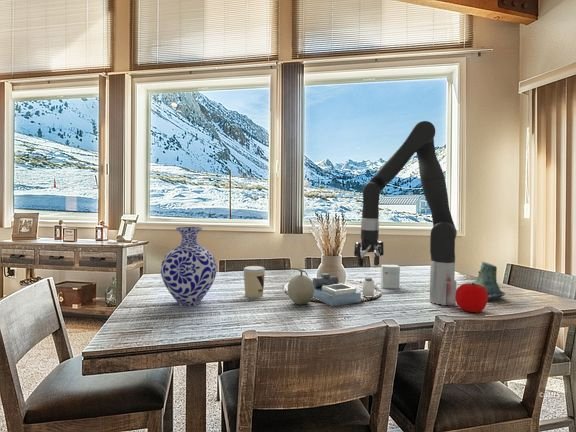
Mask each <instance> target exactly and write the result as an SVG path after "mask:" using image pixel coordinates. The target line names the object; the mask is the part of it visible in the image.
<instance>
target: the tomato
mask: <svg viewBox="0 0 576 432" xmlns="http://www.w3.org/2000/svg"><path fill="white" fill-rule="evenodd" d="M455 300H456V305H457V306H458V307H459V308H460V309H462V310H464V311H466V312H468V313H473V312H476V313H482V312H483V310H484V309H486V306H487V303H488V293H487V291H486V289H485V288H484V287H483V286H481V285H478V284H474V282H472V283H470V282H465V283H462V284H461V285H460V286H458V287H457V288H456V295H455Z"/></svg>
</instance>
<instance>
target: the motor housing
mask: <svg viewBox="0 0 576 432" xmlns="http://www.w3.org/2000/svg"><path fill="white" fill-rule="evenodd" d="M311 281H312V283H313V286H314V294H313V297H315V298H317V299H319V300H321V301H320V302H322V303H324V304H325V305H328V306H330V307H336V306H345V305H351V304H358V303H361V300H362V294H361V292H360V291H358V290H357V287H354V286H352V285H348V284H345V283H339V282H340V281H339V278H338V276H336V275H331V274H330V273H327V272H326V273H321V274H320V277H314V278H313V279H312V280H311ZM313 297H312V298H313ZM315 298H314V299H315ZM317 299H316V300H317ZM319 300H318V301H319Z"/></svg>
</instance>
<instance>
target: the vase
mask: <svg viewBox="0 0 576 432" xmlns="http://www.w3.org/2000/svg"><path fill="white" fill-rule="evenodd" d="M175 230H176V231H177V232H179V233H180V234H181V242H180V244H179V245H177V246H176V247H174V248H172V249H171V250H170V251H169V252H168V253H167V254H166V255H165V256H164V257H163V260H162V262H161V265H160V266H161V267H160V277H161V279H162V282H163V284H164V286H165V288H166V290H167V291H168V293H169V294H170V295H171V296H172V297H173V299H174V300H175V301H176V302H177V305H179V306H182V307H192V306H197V305H199V304H201V302H202V301H203V299H204V298H205V296H206V295H207V294H208V292H209V290H210V289H211V287H212V286H213V283H214V282H215V280H216V276H217V271H218V268H217V261H216V259H215V256H214V255H213V254H212V252H210V251H209V250H208V249H207V248H205V247H204V246H202V245H200V244H199V243H198V241H197V236H198V233H199V232H201V231H202V230H203V227H202V226H201V227H199V226H182V227H181V226H179V227H175Z"/></svg>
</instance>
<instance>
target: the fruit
mask: <svg viewBox="0 0 576 432" xmlns="http://www.w3.org/2000/svg"><path fill="white" fill-rule="evenodd" d="M285 269H290V270H295V271H299V272H300V274H298V275H295V276H293V277H291V278H290V280H289V281H288V284H287V294H288V297H289V299H290V300H291V302H293V303H294V304H296V305H306V304H309V303H310V302H311V301H312V300H313V294H314V286H313V283H312V281H313V280H312V279H311V278H310V277H308V275H309V274H308V273H307V271H305V270H303V269H299V268H295V267H287V266H286V267H285ZM303 273H305V275H303Z"/></svg>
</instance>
